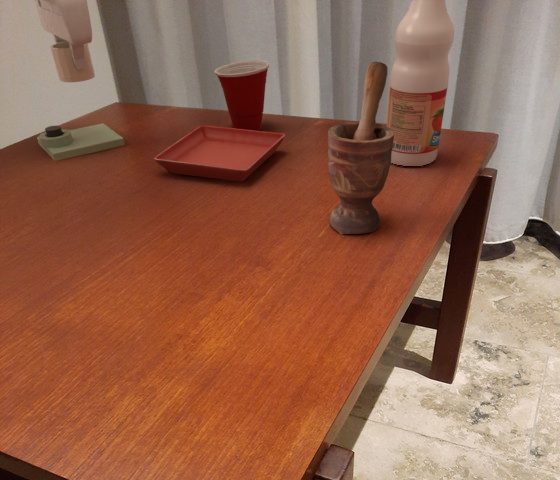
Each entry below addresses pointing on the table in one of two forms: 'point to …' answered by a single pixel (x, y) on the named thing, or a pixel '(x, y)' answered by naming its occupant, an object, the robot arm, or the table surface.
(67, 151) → the scale
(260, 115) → the plastic cup
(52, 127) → the button
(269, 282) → the table surface
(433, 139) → the fruit juice
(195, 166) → the plant saucer
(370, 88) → the mortar and pestle
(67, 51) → the ramekin
